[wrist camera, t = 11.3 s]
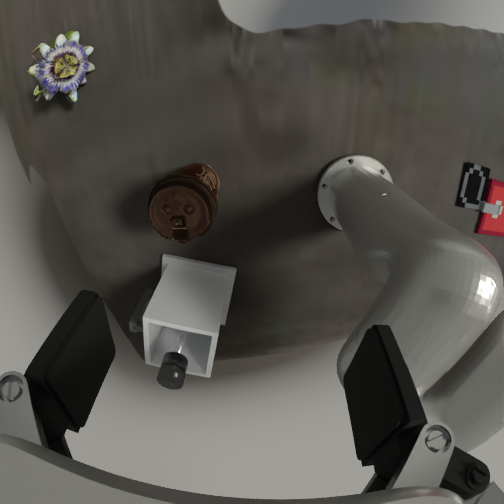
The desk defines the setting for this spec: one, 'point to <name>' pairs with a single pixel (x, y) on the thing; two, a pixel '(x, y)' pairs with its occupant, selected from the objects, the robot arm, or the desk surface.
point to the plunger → (174, 365)
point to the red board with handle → (492, 208)
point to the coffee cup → (185, 203)
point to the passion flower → (62, 66)
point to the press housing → (185, 311)
